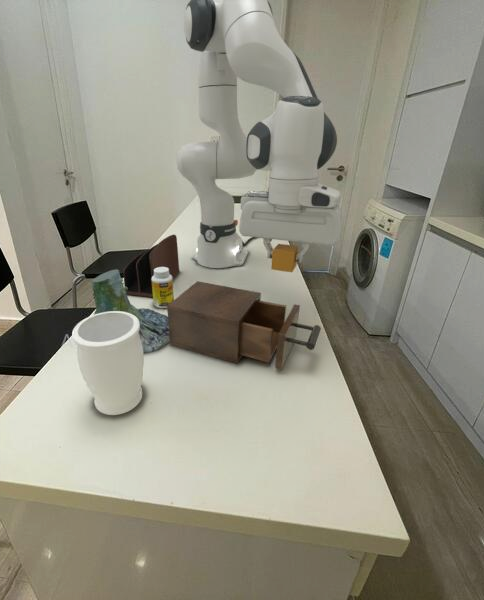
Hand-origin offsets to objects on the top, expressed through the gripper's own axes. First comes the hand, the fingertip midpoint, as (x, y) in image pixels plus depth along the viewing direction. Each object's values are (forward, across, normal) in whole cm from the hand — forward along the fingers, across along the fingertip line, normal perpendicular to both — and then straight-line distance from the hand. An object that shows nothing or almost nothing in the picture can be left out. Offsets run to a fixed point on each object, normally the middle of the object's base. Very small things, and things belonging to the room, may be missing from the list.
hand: (284, 259), depth 71 cm
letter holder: (+17, -42, +10) cm, 46 cm away
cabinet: (+17, -12, -10) cm, 23 cm away
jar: (+17, -19, -36) cm, 44 cm away
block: (+2, 0, 0) cm, 2 cm away
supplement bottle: (+17, -31, -1) cm, 35 cm away
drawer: (+16, 0, -11) cm, 19 cm away
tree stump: (+17, -30, -17) cm, 39 cm away
